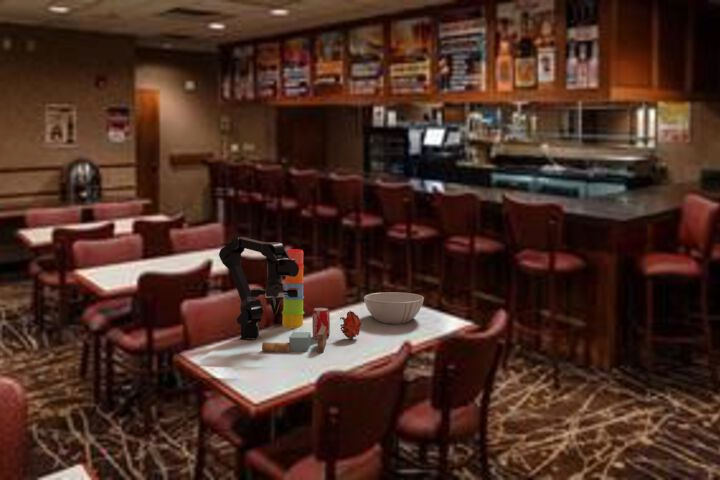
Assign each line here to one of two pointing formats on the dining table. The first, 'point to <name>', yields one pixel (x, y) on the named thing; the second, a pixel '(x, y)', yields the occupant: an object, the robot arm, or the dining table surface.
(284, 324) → the stacking cups
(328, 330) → the soda can
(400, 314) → the decorative bowl
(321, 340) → the wall
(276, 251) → the robot arm
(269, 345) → the dowel
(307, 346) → the block
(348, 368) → the dining table surface
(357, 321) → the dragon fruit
